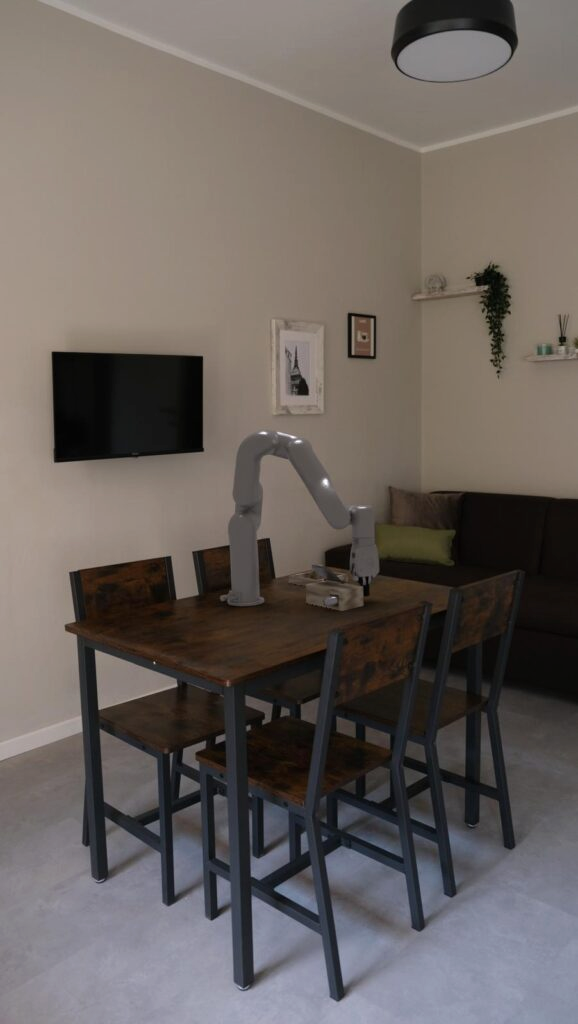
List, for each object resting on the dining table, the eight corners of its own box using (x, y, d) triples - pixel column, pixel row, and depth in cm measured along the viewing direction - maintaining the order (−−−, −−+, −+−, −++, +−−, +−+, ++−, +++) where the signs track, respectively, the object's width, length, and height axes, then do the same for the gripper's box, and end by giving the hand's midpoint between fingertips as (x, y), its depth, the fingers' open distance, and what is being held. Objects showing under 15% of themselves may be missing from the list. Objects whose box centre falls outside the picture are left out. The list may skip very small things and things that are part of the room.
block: (342, 611, 269) (341, 587, 268) (306, 603, 282) (305, 581, 281) (363, 605, 276) (363, 583, 275) (327, 598, 288) (327, 576, 287)
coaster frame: (316, 588, 305) (316, 580, 305) (288, 583, 316) (288, 575, 316) (347, 582, 316) (347, 574, 315) (319, 577, 327) (319, 569, 327)
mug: (332, 586, 311) (318, 563, 311) (315, 594, 317) (302, 572, 317) (343, 577, 316) (329, 555, 316) (326, 586, 323) (312, 564, 323)
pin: (330, 610, 267) (330, 596, 267) (321, 608, 270) (320, 594, 270) (363, 602, 277) (362, 589, 277) (353, 600, 280) (353, 587, 280)
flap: (325, 568, 275) (327, 566, 276) (311, 566, 281) (312, 564, 281) (341, 583, 281) (342, 581, 281) (326, 580, 286) (327, 578, 286)
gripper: (355, 545, 271) (357, 601, 273) (386, 540, 281) (387, 593, 283) (339, 543, 277) (340, 597, 279) (370, 538, 286) (371, 590, 288)
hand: (364, 595), depth 281 cm, fingers closed
